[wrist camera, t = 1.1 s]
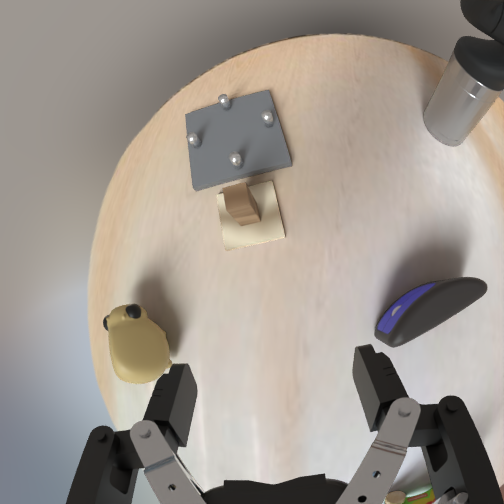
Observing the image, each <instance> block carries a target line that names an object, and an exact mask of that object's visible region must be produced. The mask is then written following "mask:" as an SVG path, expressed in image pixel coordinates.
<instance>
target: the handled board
mask: <svg viewBox="0 0 504 504" xmlns="http://www.w3.org/2000/svg"><path fill="white" fill-rule="evenodd" d="M222 189H223V193H222V194H218V195H216V197H217V203H218V210H219V216H220V222H221V228H222V234H223V240H224V246H225V250H226V251H230V250H234V249H238V248H243V247H247V246H251V245H256V244H260V243H265V242H269V241H273V240H278V239H282V238H285V233H284V229H283V224H282V220H281V215H280V211H279V207H278V202H277V198H276V194H275V190H274V186H273V182H272V181H268V182H264V183H260V184H256V185H252V186H247V184H246V182H244V183H240V184H236V185H232V186H229V187H225V188H222Z"/></svg>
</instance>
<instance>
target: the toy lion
mask: <svg viewBox="0 0 504 504" xmlns="http://www.w3.org/2000/svg"><path fill="white" fill-rule="evenodd" d="M435 501H436V500H435V496H434V492H433V488H431V489H430V490H428V491H426V492H424V493H422V494H419V495H416V496H412V497H406V495H405V493H404V492H401V491H393V492H390V493H389V494H387V496H386V498H385V503H386V504H432V503H434V502H435Z"/></svg>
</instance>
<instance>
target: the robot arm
mask: <svg viewBox="0 0 504 504" xmlns="http://www.w3.org/2000/svg"><path fill="white" fill-rule="evenodd" d="M460 3H461V10H462V13H463V15H464V17H465V18H466V19H467V20H468V21H469V23H471V24H472V25H473V26H474V27H476V28H477V29H479V30H480V31H482V32H484V33H485V34H487V35H488V36H490V37H491V38H493V39H494V40H485V39H480V38H475V37H471V36H464V37H461V38H460V39H459V40H458V41H457V43H456V46H455V48H454V51H453V53H452V55H451V58H450V60H449V62H448V65H447V67H446V69H445V71H444V73H443V75H442V78H441V80H440V82H439V84H438V86H437V88H436V90H435V92H434V94H433V96H432V98H431V100H430V102H429V104H428V106H427V108H426V110H425V112H424V122H425V125H426V127H427V129H428V130H429V132H430V133H431V134H432V135H433V136H434V137H435V138H436V139H437V140H439V141H440V142H442V143H444V144H446V145H449V146H458V145H460V144H461V143H462V142H463V141H464V140H465V138H466V137H467V136H468V135H469V134H470V133H471V131H472V130H473V129H474V128H475V126H476V125H477V124H478V123H479V121H480V120H481V119H482V118H483V116H484V115H485V114H486V112H487V111H488V110H489V108H490V107H491V106H492V104H493V103H494V102H495V100H496V99H497V98H498V96H499V95H500V93H501V92H502V91H503V89H504V0H461V2H460ZM353 379H354V382H355V385H356V388H357V391H358V394H359V397H360V400H361V403H362V406H363V410H364V413H365V416H366V419H367V422H368V426H369V429H370V432H373V431H378V434H377V436H376V438H375V440H374V442H373V443H372V445H371V447H370V449H369V450H368V452H367V454H366V456H365V458H364V459H363V461H362V463H361V465H360V466H359V468H358V470H357V472H356V473H355V475H354V476H353V478H352V480H351V481H350V483H349V484H347V483H345V482H342V481H339V480H335V479H326V478H325V474H318V475H312V476H304V477H298V478H295V479H292V480H289V481H286V482H282V483H279V484H274V485H273V484H266V483H260V482H254V481H249V480H224V486H219V487H216V488H213V489H210V490H208V491H206V492H204V490H203V489H202V488H201V487H200V485H199V484H198V483H197V482H196V480H195V479H194V478H193V476H192V475H191V473H190V472H189V470H188V469H187V467H186V466H185V464H184V463H183V461H182V460H181V458H180V457H179V455H178V454H177V450H178V447H186V445H187V440H188V435H189V431H190V426H191V421H192V417H193V412H194V407H195V403H196V398H197V384H196V382H195V379H194V377H193V374H192V372H191V369H190V366H189V365H188V364H172V366H171V368H170V371H169V374H163V375H162V376H161V377H160V378H159V379H158V380H157V383H156V385H155V388H154V391H153V393H152V397H151V399H150V401H149V404H148V407H147V410H146V412H145V415H144V418H143V420H142V421H139V422H137V423H136V424H134V425H133V427H132V428H131V430H125V431H117V432H114V431H113V430H112V429H111V428H110V427H108V426H99V427H96V428H95V429H93V430H92V432H91V433H90V436H89V438H88V440H87V443H86V446H85V448H84V451H83V454H82V457H81V459H80V462H79V465H78V468H77V471H76V474H75V477H74V479H73V482H72V486H71V489H70V492H69V495H68V498H67V502H66V504H131V503H132V498H133V493H134V488H135V483H136V478H137V474H138V470H139V468H145V470H144V474H145V476H146V477H147V480H148V482H149V483H150V485H151V487H152V489H153V491H154V492H155V494H156V496H157V498H158V500H159V501H160V503H161V504H382V503H383V501H384V499H385V497H386V495H387V493H388V492H389V490H390V488H391V486H392V484H393V482H394V480H395V478H396V476H397V474H398V471H399V469H400V467H401V465H402V463H403V460H404V458H405V456H406V453H407V451H406V450H407V447H419V446H421V449H422V452H423V455H424V458H425V462H426V465H427V469H428V473H429V476H430V480H431V484H432V488H433V492H434V496H435V500H436V501H435V502H434V503H432V504H504V502H503V498H502V495H501V492H500V488H499V485H498V482H497V479H496V476H495V473H494V471H493V468H492V465H491V462H490V460H489V457H488V455H487V452H486V450H485V447H484V445H483V443H482V440H481V438H480V436H479V433H478V431H477V429H476V427H475V424H474V422H473V420H472V418H471V416H470V414H469V412H468V410H467V408H466V406H465V404H464V402H463V401H462V399H460V398H459V397H457V396H446V397H444V398H442V399H441V400H440V402H439V404H428V405H422V404H418V402H417V401H415V400H414V399H412V398H409V396H408V395H407V392H406V390H405V388H404V386H403V384H402V382H401V380H400V378H399V376H398V374H397V372H396V370H395V368H394V367H393V364H392V362H391V360H390V358H389V357H387V356H386V355H385V354H384V353H383V352H380V353H375V351H374V348H373V346H372V345H371V344H368V345H363V346H358V347H356V348H355V353H354V362H353Z"/></svg>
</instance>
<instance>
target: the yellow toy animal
mask: <svg viewBox="0 0 504 504" xmlns="http://www.w3.org/2000/svg"><path fill="white" fill-rule="evenodd" d="M103 325H104V328H105V329H106V330H107V331H109V348H110V355H111V360H112V364H113V368H114V371H115V373H116V375H117V376H118V377H119V378H120V379H121V380H123V381H125V382H128V383H133V384H144V383H148V382H151V381H153V380H155V379H157V378H158V377H160V376H161V375H162V374H163V372H164V371H165V369H167V368H170V367H171V366H172V361H171V360H170V359H169V356H170V351H169V345H168V341H167V339H166V332H165V331H163V330H161V328H160V327H159V326H158V325H157V324H156V323H154V322H153V321H151V320H150V319H148V317H147V312H146V310H145V309H144V308H142V307H140V306H138V305H137V304H127V305H122V306H119V307H117V308H115V309H113V310H112V311H111V313H110V315H107V316H106V317H105V318H104V320H103Z"/></svg>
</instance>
